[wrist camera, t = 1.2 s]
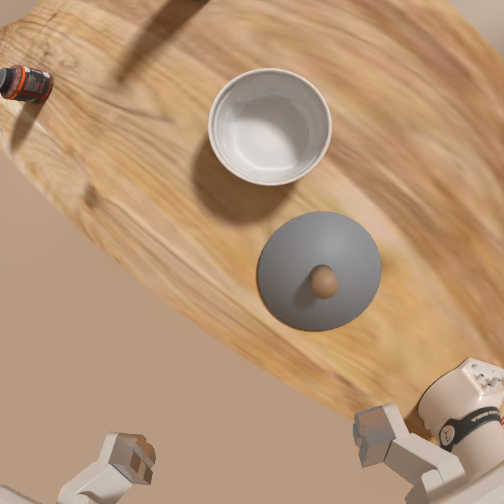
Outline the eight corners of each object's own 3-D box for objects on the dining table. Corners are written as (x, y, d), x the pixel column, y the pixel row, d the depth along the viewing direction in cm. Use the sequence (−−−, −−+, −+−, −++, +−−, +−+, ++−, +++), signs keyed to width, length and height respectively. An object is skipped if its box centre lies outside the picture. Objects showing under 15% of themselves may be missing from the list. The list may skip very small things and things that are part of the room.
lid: (392, 226, 37) (406, 234, 32) (358, 335, 41) (366, 353, 36) (271, 199, 37) (269, 203, 33) (248, 316, 42) (244, 333, 37)
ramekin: (201, 119, 35) (184, 109, 28) (286, 67, 32) (286, 47, 26) (255, 203, 37) (249, 209, 31) (343, 151, 34) (356, 146, 28)
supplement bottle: (54, 67, 34) (11, 54, 23) (54, 95, 35) (8, 86, 24) (33, 81, 35) (-9, 73, 24) (33, 109, 36) (-12, 104, 25)
